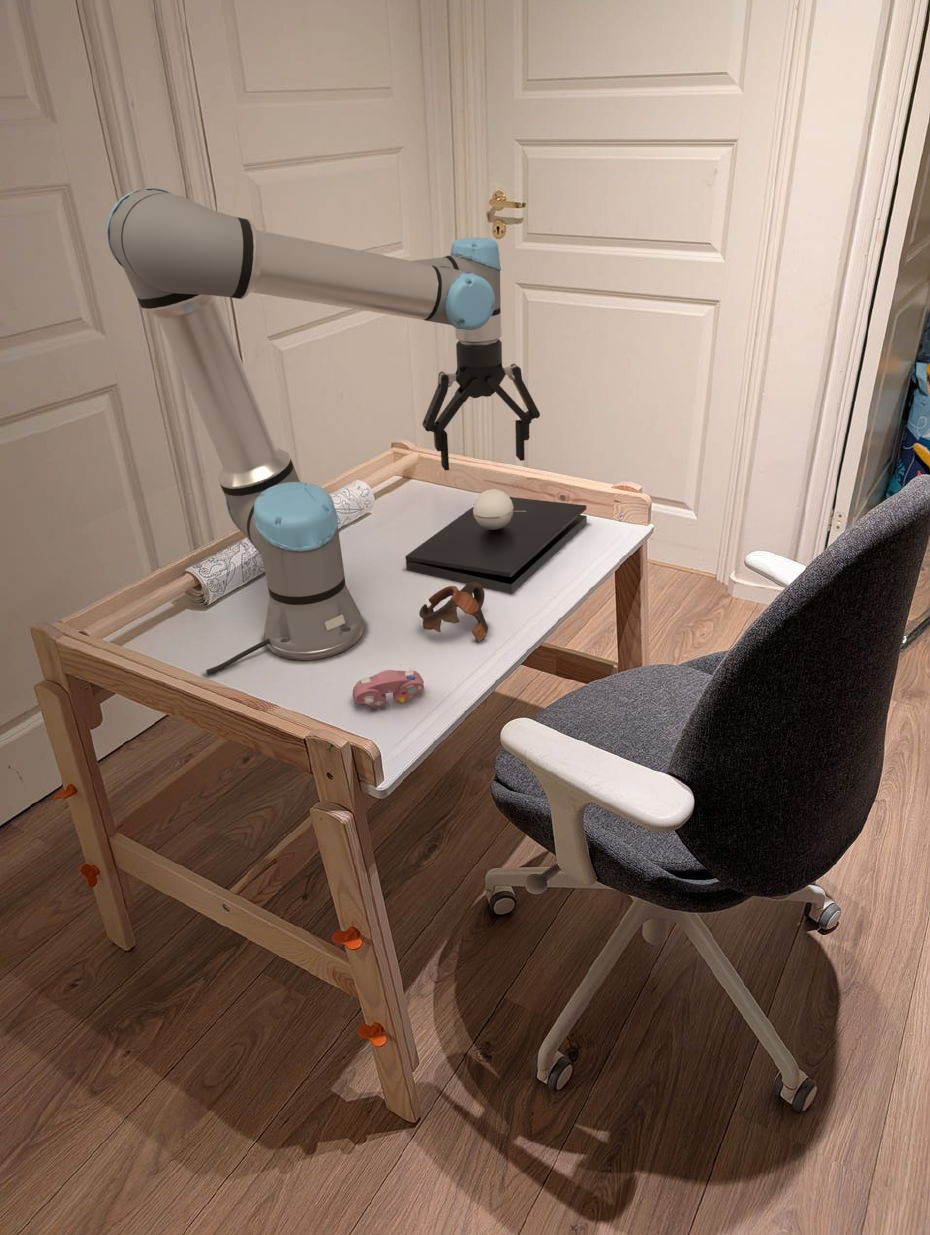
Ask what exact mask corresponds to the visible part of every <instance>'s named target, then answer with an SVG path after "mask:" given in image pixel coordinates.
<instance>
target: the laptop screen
mask: <svg viewBox="0 0 930 1235" xmlns="http://www.w3.org/2000/svg"><path fill="white" fill-rule="evenodd" d="M509 498H510V499H511V501H512V503H513V506H514V510H513V516H512V518H511V520H510V522H509V523H508V524H507V525H506V526H505V527H503V528H500V529H498V530H489V529H485V528H484V527H482V526H481V525H479V523H478V522H477V521H476V519H475V517H474V514H473V506H471V507H470V508H469V509H467V510H466V511H465V512H463V513H462V514H461V515H459V516H458V517H457V518H455V519H454V520H453V521H451V522H450V523H448V524H447V525H446V526H445V527H443V528H442V529H440V530H439V531H438V532H437V533H435V534H434V535H432V536H431V537H430V538H428V539H427V540H426V541H424V542H422V543H421V544H420V545H418V546H417V547H415V548H414V549H413V550H411V552H409V553H407V554H406V555H405V556H404V557H405V561H406V560H407V561H414V562H420V563H426V564H432V565H438V566H445V567H451V568H457V569H463V570H469V571H476V572H482V573H488V574H494V575H501V576H507V577H512V576H513V575H514V574H515V573H516V572H517V571H518V570H519V569H520V568H522V567H523V566H524V565H525V564H526V563H527V562H528V561H529V560H530V559H532V558H533V557H534V556H535V555H536V554H537V553H538V552H539V551H540V550H542V549H543V548H544V547H545V546H546V545H547V544H548V543H549V542H551V541H552V540H553V539H554V538H555V537H556V536H557V535H558V534H559V533H561V532H562V531H563V530H564V529H565V528H566V527H567V526H568V525H569V524H571V523H572V522H573V521H574V520H575V519H576V518H577V517H578V516H579V515H583V513H584V512H585V511H586V510H587V509H588V508H587V505H586V504H578V503H569V502H568V503H567V502H561V501H551V500H541V499H532V498H526V497H525V498H523V497H514V496H509Z"/></svg>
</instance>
